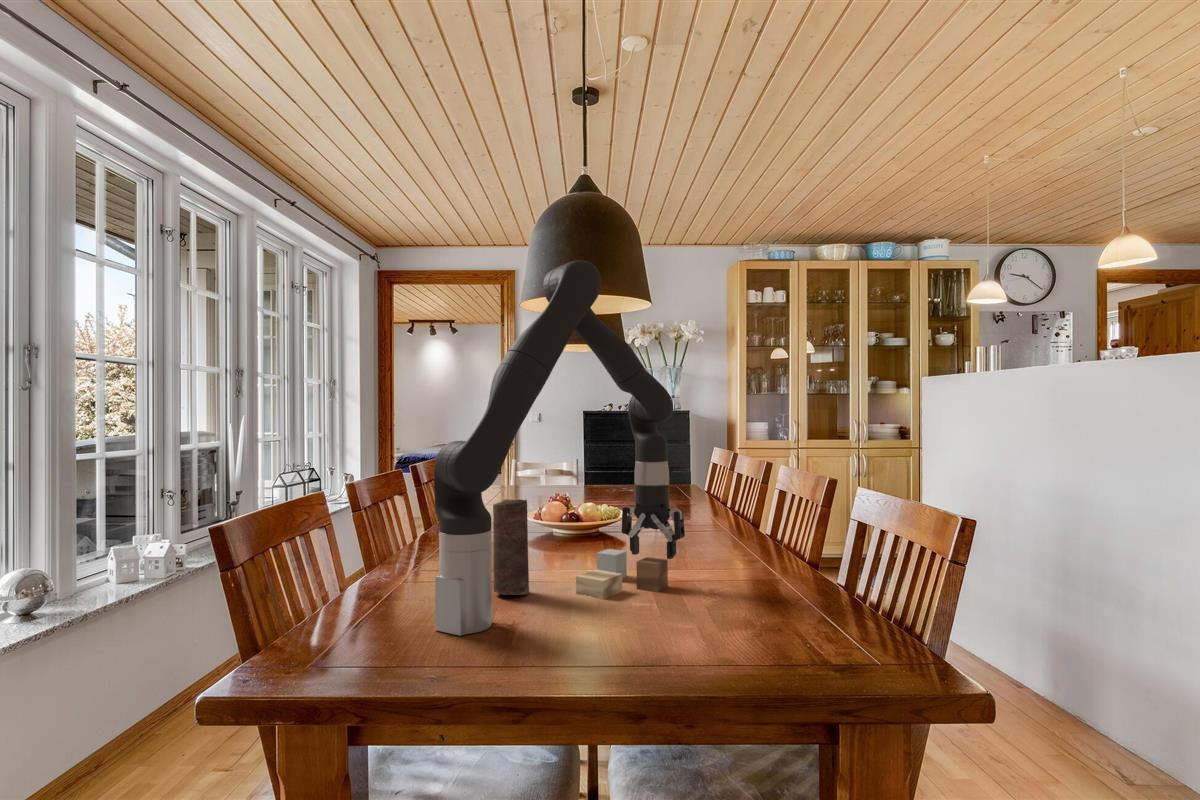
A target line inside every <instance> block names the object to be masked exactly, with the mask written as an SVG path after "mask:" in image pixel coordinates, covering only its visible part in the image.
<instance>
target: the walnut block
mask: <svg viewBox="0 0 1200 800" xmlns="http://www.w3.org/2000/svg"><path fill="white" fill-rule="evenodd" d="M668 560H669V559H665V558H658V557H657V558H656V557H649V556H647V557H644V558H641V559H640V560H637V561H636V590H641V591H645V592H646V591H647V592H653V593H660V592H661V591H663V590H665V589H667V588H668V587H669V577H668V576H669V575H668V574H669V573H668V571H669V570H668V563H669V561H668Z"/></svg>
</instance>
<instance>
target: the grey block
mask: <svg viewBox="0 0 1200 800" xmlns="http://www.w3.org/2000/svg"><path fill="white" fill-rule="evenodd" d="M627 558H628V554H627V550H622V549H621V550H619V549H612V548H607V549H604V550H601V551H598V552H596V569H597V570H603V571H608V572H614V573H620V574H622V580H623V579H625V578H627V577H628V575H627V574H628V573H627V572H628V571H627V570H628V568H627V567H628V561H627Z"/></svg>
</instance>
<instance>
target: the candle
mask: <svg viewBox="0 0 1200 800" xmlns="http://www.w3.org/2000/svg"><path fill="white" fill-rule="evenodd" d="M492 512H493V513H492V515H493V521H492V522H493V523H492V524H493V526H492V528H493V529H492V531H493V532H492V533H493V538H492V539H493V541H492V542H493V592H495V593H496V594H499V595H503V596H513V595H516V596H517V595H519V596H527V595H529V593H530V581H529V580H530V579H529V578H530V575H529V574H530V571H529V570H530V569H529V568H530V567H529V535H528V534H529V533H528V531H529V530H528V526H529V525H528V500H527V499H501V501H500V502H497V503H493V505H492Z"/></svg>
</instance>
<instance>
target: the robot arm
mask: <svg viewBox="0 0 1200 800" xmlns="http://www.w3.org/2000/svg"><path fill="white" fill-rule="evenodd" d="M601 287H602V277H601V274H600V272H599V269H598V268H597V266H596V265H595V264H593V263H592V262H590V261H588V260H583V259H582V260H581V259H579V260H578V259H577V260H573V261H572V260H571V261H570V262H567V263H565V264H561V265H560V266H557V267H555V268H553V269H551V270H550V271H548V272H547V273H546V275H545V276H544V278H543V283H542V290H543V293H544V297H545V299H546V300H547V302H548V304H547V305H546V307H545V308H544V310H542V313H540V314H539V316H538V317H537V318H536V319H535V320H533V322H531V324H530V325H529V326H527V328H526V329H525V330H524V331H522V333H520V335H519V336H518V337H517V338H516V339H515V340H514V341H513V343H512V344H511V346H510V347H509V349H508V350H507V352H506V353H505V355H504V356H503V358H502V360H501V362H500V363H499V365H498V367H496V370H495V373H494V375H493V378H492V381H491V384H490V391H489V399H488V401H487V405H486V409H485V412H484V413H483V416H482V418H481V419H480V421H479V423H478V424H477V426H476V428H475V429H474V430H473V432H472V433H471V434H470V437H468V439H467V440H454V441H451V442H448V443H446V444H445V445H443V446H442V447H441V448H440V450H439V451H438V453H437V454H436V457H435V459H434V460H435V461H434V467H433V488H434V489H433V490H434V491H433V493H434V512H435V514H436V517H437V520H438V527H439V528H438V530H439V532H438V533H439V534H438V535H439V537H438V541H439V544H438V545H439V546H438V547H439V550H438V555H439V557H438V559H439V561H438V563H439V565H438V567H439V568H438V569H439V571H438V572H439V574H437V575H436V576H435V578H434V580H435V582H434V598H435V599H434V601H435V603H434V605H435V606H434V608H435V609H434V616H435V617H434V620H435V622H434V630H435V631H437V632H442V633H446V634H451V635H453V636H454V635H456V636H459V637H461V636H465V635H469V634H475V633H479V632H483V631H486V630H488V629H489V628H491V626H492V624H493V622H492V621H493V617H492V615H493V614H492V613H493V609H492V607H493V605H492V603H493V602H492V601H493V600H492V599H493V597H492V594H493V593H492V592H493V591H492V590H493V588H492V587H493V585H492V582H493V581H492V578H493V577H492V515H491V513H490V512H489V510H488V509H487V508H486V505H485V504H484V501H483V496H482V495H483V494H482V493H483V492H486V491H487V490H489V488H491V486H492V485H493V484H494V483H495V482H496V480H497V478H498V476H499V474H500V471H501V470H502V467H503V465H504V463H505V460H506V458H507V456H508V453H509V452H510V448H511V447H512V444H513V442H514V440H515V437H516V435H517V434H518V431H519V429H520V428H521V426H522V424H523V423H524V421H525V420H526V418H527V416H528V414H529V412H530V410H531V408H532V407H533V405H534V403H535V401H536V400H537V398H538V397H539V395H540V393H541V392H542V389H543V388H544V387H545V384H546V383H547V381H548V380H549V377H550V376H551V374H552V372H553V370H554V368H555V366H556V364H557V362H558V360H559V358H560V357H561V355H562V354H563V352H564V350H565V348H566V346H567V344H568V342H569V341H570V339H571V336H572V335H573V333H574V332H575V333H576V334H577V335H578V336H579V337H580V338H581V339H582V341H583V342H584V343H585V344H586V345H587V346H588V348H589V349H590V350H591V351H592V353H594V355H595V356H596V357H597V359H598V360H599V362H600V363H601V364H602V366H603V367H604V368H605V370H606V372H607V373H608V375H609V376H610V378H611V379H612V381H614V383H615V384H616V386H617V387H618V389H619V390H621V391H622V392H625V393H627V394H630V395H631V397H630V399H629V403H628V410H627V411H628V419H629V423H630V427H631V431H632V436H633V438H634V443H635V447H634V448H635V450H634V452H635V453H634V454H635V456H634V457H635V462H634V463H635V464H634V465H635V466H634V474H633V475H634V502H635V506H633V507H632V505H628V506H624V507H622V508H621V509H622V511H621V514H622V515H621V533H622V534H623V535H627V536H628V538H629V550H630V553H631V554H632V555H633V556H634V555H636V556H637V555H638V554H640V536H639V534H640V533H641V531H642V530H643V529H647V530H648V529H652V530H656V531H657V530H659V532H660V533H661V534H663V535H664V537H665V538H666V540H667V541H666V558H667V559H666V560H672V559H674V557H675V556H676V555H677V541H679V540H680V539H683V538H685V536H686V531H685V529H686V528H685V518H684V517H685V516H684V515H685V514H684V511H683V510H682V509H678V510H671V509H670V470H669V469H670V467H669V463H668V459H669V457H668V455H669V454H668V439H667V437H666V436H665V435H664V434H662V433H660V432H659V430H658V428H657V424H658V423H659V424H660V423H664V422H666V421H668V420H669V419H670V418H671V417H672V415H673V412H674V403H673V402H674V401H673V399H672V396H671V395H670V393H669V392H668V390H667V389H666V387H664V386H663V384H662V383H660V382H659V381H658V380H657V378H655V377H654V376H653V375H652V374H651V373H650V372H649V371H647V369H646V368H645V366H644V365H643V363H642V362H641V360H640V358H639V357H638V355H637V354H636V353H635V351H634V349H633V348H632V347H631V345H629V343H628V342H627V341H625V339H624V338H622V336H620V335H619V334H618V333H617V332H615V331H614V329H612V328H610V327H609V326H608V325H607V324H606V323H605V322H604V321H602V320H601V319H600V318H599V316H598V315H597V314H596V313H595V311H593V309H592V308H591V307H592V306H593V305H594V304H595V302H596V301H597V299H598V297H599V294H600V292H601V289H602V288H601ZM634 515H635V517H636V519H637V520H636V521H635V523H634V524H633V516H634ZM670 518H671V520H672V521H673V525H671V523H670V520H669V519H670Z"/></svg>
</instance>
